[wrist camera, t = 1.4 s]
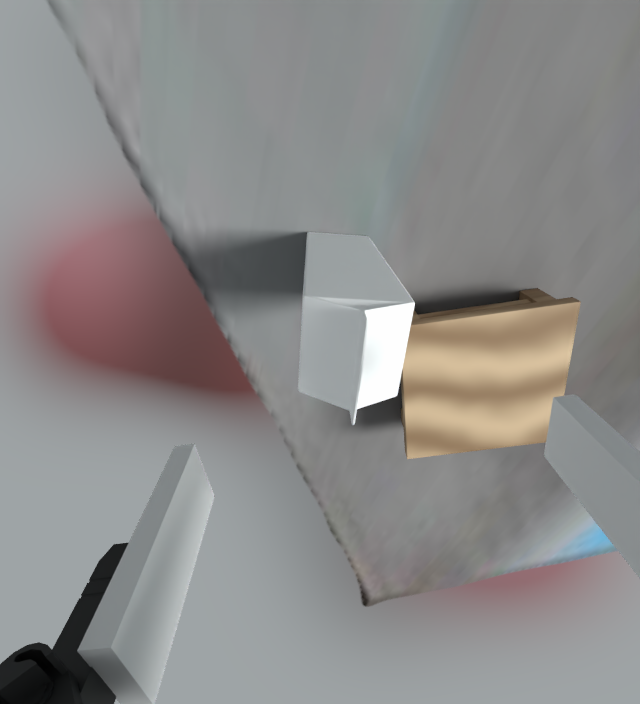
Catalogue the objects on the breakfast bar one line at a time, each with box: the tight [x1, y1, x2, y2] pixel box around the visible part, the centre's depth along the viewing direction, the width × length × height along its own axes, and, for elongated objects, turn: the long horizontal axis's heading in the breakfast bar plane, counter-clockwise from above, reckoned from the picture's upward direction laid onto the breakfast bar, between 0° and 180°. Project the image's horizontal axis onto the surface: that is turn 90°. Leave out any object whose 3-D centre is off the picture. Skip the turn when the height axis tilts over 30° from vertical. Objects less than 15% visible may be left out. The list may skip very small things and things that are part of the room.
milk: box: [298, 232, 415, 425], centre depth 28 cm, size 6×6×22 cm
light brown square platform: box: [401, 288, 580, 459], centre depth 40 cm, size 16×16×6 cm
